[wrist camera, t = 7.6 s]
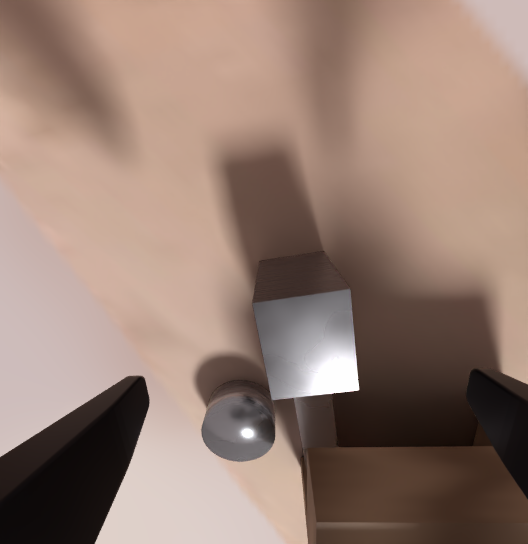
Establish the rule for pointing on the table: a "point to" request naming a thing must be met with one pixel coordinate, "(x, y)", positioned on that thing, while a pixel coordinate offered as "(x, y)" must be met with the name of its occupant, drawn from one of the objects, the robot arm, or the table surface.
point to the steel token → (239, 421)
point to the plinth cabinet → (412, 496)
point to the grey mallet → (306, 339)
